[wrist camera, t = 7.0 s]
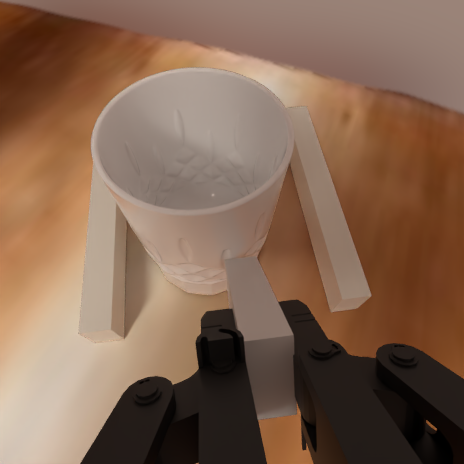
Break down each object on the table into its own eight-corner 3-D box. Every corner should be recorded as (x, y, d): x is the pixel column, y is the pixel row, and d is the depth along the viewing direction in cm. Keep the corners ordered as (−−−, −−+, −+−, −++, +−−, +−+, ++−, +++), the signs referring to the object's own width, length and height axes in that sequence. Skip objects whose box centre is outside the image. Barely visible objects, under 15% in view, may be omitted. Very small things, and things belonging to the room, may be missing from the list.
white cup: (243, 184, 24) (251, 51, 16) (288, 281, 21) (331, 178, 12) (135, 215, 23) (77, 88, 14) (163, 324, 19) (108, 243, 11)
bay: (356, 308, 20) (371, 295, 18) (95, 342, 19) (78, 333, 17) (300, 130, 27) (306, 106, 25) (107, 148, 26) (96, 124, 24)
